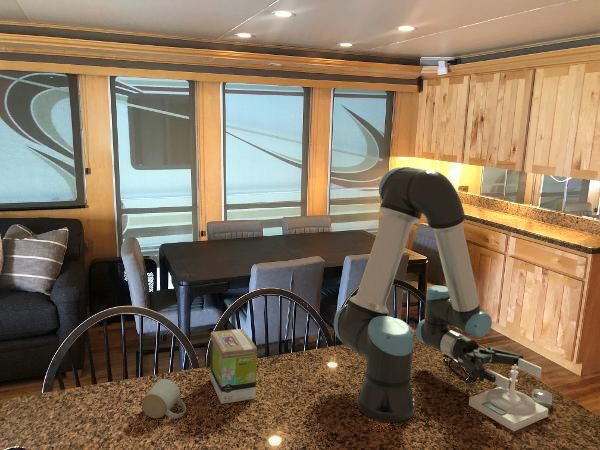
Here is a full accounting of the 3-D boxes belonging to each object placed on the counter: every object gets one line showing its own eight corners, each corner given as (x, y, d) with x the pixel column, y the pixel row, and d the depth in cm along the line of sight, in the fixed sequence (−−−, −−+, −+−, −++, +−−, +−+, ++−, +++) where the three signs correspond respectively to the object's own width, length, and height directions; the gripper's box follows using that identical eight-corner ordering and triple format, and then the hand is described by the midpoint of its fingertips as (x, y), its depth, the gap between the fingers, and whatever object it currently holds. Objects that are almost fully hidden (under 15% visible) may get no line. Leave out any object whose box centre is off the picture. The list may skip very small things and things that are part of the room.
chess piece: (524, 404, 131) (528, 369, 130) (505, 404, 131) (509, 368, 130) (516, 395, 136) (520, 360, 134) (498, 394, 136) (502, 360, 134)
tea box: (257, 399, 135) (258, 347, 133) (220, 405, 132) (220, 352, 129) (242, 373, 149) (243, 327, 146) (209, 378, 145) (209, 330, 143)
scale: (513, 431, 124) (515, 420, 124) (468, 404, 136) (469, 394, 136) (547, 416, 132) (548, 406, 131) (501, 392, 143) (502, 382, 143)
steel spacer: (544, 410, 135) (545, 399, 135) (527, 401, 139) (528, 391, 139) (554, 405, 138) (556, 395, 137) (538, 397, 142) (539, 387, 141)
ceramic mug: (139, 418, 124) (139, 391, 123) (154, 402, 132) (154, 376, 130) (178, 425, 122) (178, 397, 121) (191, 408, 130) (191, 381, 129)
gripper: (486, 351, 155) (551, 381, 137) (428, 368, 142) (491, 403, 124) (489, 328, 153) (554, 355, 136) (431, 343, 140) (494, 375, 123)
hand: (524, 378), depth 130 cm, fingers open, 13 cm apart
